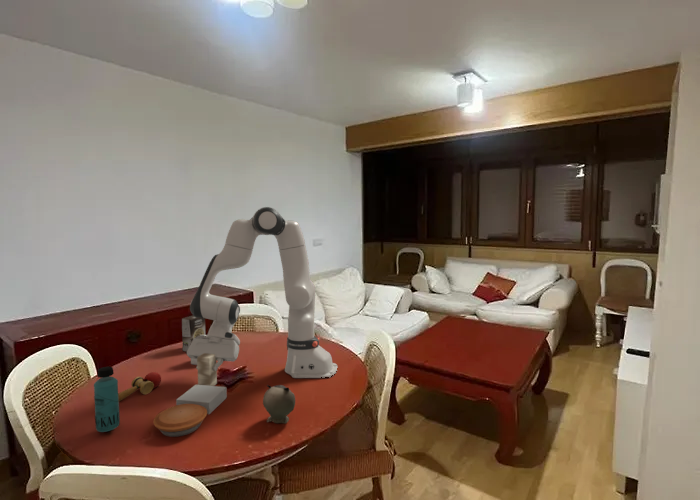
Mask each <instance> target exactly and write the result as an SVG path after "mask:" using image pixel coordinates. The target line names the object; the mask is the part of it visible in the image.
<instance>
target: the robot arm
mask: <svg viewBox="0 0 700 500" xmlns="http://www.w3.org/2000/svg"><path fill="white" fill-rule="evenodd" d="M261 235H263V236H264V235H265V236H274V237H275V239H276V242H277V246H278V252H279V256H280V262H281V267H282V276H283V277H282V278H283V288H284V293H285V294H284V295H285V301H286V303H287V305H288V317H287V337H286V338H287V339H286V347H287V348H286V349H287V350H286V351H287V357H286V362H285V366H284V372H285V374H288V375H290V376H291V377H292V378H294V379H326V378H325V377H329V378H332V377H333V376H335V375H336V374H337V372H338V370H337V368H338V364H337V363H335V362H333V358H332V355H331V353H330V352H329V351H327V350H326V349H325V348H323V347H322V346H320V337H316V336H315V309H316V307H315V305H316V286H315V283H314V282H313V281H312V280H311V274H310V273H311V272H310V262H309V258H308V257H309V256H308V253H307V251H308V250H307V247H306V241H305V238H304V234H303V231H302V228H301V226H300V224H299V223H298V222H297V221H295V220H285V218H284V217H283V216H281V214H280V213H279V211H278V210H276V209H275V208H273V207H270V206H265V207H261V208H259V209H257V210H256V211H255V213H254V214H253V216H252V217H251V218H250V219H244V218H241V219H235V220H234V221H233V222H232V224H231V225H230V228H229V230H228V232H227V236H226V239H225V243H224V246H223V248H222V250H221V251H220V252H219V253H218V254H215V255H214V256H213V257H212V258H211V260H210V261H209V263H208V266H207V268H206V270H205V272H204V275H203V277H202V279H201V282H200V284H199V285H198V288H197V290H196V292H195V294H194V296H193V298H192V299H191V301H190V303H189V311H190V312H191V314H192V316H193V315H194V316H195V317H196V318H205V320H206V319H208V320H211V321H213V322H212V324H211V325H210V328H209V329H208V332H207V334H206V335H207V336H197V337H195V338H194V339H193V341H192V343H191V345H190V346H189V348H188V350H187V351H186V355H187V357H188V359H190V360H191V359H197V357H199V356H200V355H202V354H203V353H207V354H216V355H215V358H216V364H215V365H213V366H212V370H213V371H217V372H218V369H219V367H220V366H222V365H223V363H224V361H225V362H235V361H237V359H238V356H239V353H240V344H241V340H240V338H239V337H238V336H237V335H236V334H235V333H232V332H233V331H232V330H233V328H234V326H235V325H236V322H237V321H238V319H239V316H240V313H241V307H240V305H239V303H238V301H237V300H236V299H234V298H230V297H225V296H219V295H215V294H211V293H210V290H211V288H212V286H213V283H214V281H215V279H216V278H217V277H216V276H217V275H218V274H219V273H220V272H222V271H226V270H227V271H228V270H233V269H234V270H236V269H239V268H242V267H244V266H246V265H247V264H248V263H249V262H250V260H251V258H252V254H253V249H254V246H255V243H256V240H257V238H258V236H261ZM196 370H197V371H198V366H197V365H196ZM336 371H337V372H336ZM334 374H335V375H334ZM332 375H333V376H332ZM331 376H332V377H331ZM321 377H322V378H321Z"/></svg>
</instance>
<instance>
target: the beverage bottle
mask: <svg viewBox="0 0 700 500" xmlns="http://www.w3.org/2000/svg"><path fill="white" fill-rule="evenodd" d="M96 375H97V378H99V379H97V380H96V381H95V382H94V383H93V391H94V393H93V394H94V395H93V398H94V399H93V401H94V426H95V429H96V431H97V432H99V433H104V432H111V431H113V430H114V429H117V428H118V427H119V426H120V422H121V420H120V419H121V414H120V401H119V400H118V393H119V386H118V385H119V384H118V383H119V381H118V379H117V378H116V377H113V375H114V368H113V367H112V366H103V367H100V368H99V369H97V374H96Z"/></svg>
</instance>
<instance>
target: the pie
mask: <svg viewBox="0 0 700 500" xmlns="http://www.w3.org/2000/svg"><path fill="white" fill-rule="evenodd" d="M207 415H208V414H207V409H206V408H205V407H203V406H201V405H197V404H180V405H173V406H171V407H168V408H166V409H165V410H162V411H160V412H159V413H158V414H156V415H155V416H154V419H153V425H154V426H155V427H154V428H155V429H158V430H159V431H160V433H162V435H163V436H166V437H171V438H173V437H174V438H176V437H183V436H186V435H189V434H191V433H194V432H195V431H197V430H198V429H199V427H201V425H202V423H203V421H204V420H205V419H206V418H207Z"/></svg>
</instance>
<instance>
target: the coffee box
mask: <svg viewBox="0 0 700 500" xmlns="http://www.w3.org/2000/svg"><path fill="white" fill-rule="evenodd" d="M181 332H182V333H181V334H182V336H181V337H182V351H183V352H187V350H188V348H189V346H190V345H191V343H192V341H193V339H194V338H195V337H196V336H199V335H206V318H196V317H195V316H194V315H193V314H192V315H189V316H187V317H186V316H185V317H183V318H181Z"/></svg>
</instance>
